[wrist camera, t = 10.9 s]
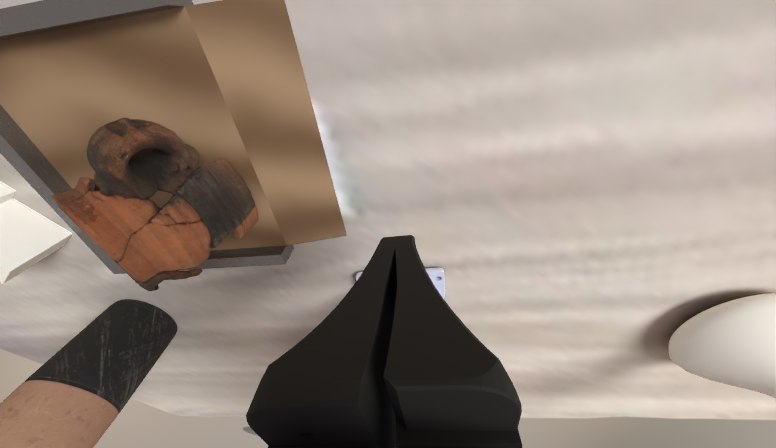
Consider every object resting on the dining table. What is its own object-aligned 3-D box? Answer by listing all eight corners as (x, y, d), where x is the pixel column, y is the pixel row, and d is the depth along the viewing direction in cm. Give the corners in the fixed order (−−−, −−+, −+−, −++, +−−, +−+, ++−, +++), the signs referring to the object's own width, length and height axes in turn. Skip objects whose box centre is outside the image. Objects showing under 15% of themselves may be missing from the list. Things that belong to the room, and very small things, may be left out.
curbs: (293, 248, 25) (285, 263, 23) (132, 258, 27) (114, 274, 25) (184, -17, 15) (156, -23, 13) (-63, 31, 17) (-114, 31, 15)
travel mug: (123, 287, 29) (-240, 617, 13) (191, 324, 32) (-31, 627, 16) (99, 315, 32) (-217, 608, 16) (163, 346, 35) (-47, 619, 19)
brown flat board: (348, 229, 24) (344, 241, 23) (143, 244, 27) (129, 255, 25) (287, -7, 15) (275, -11, 14) (-14, 47, 18) (-47, 49, 16)
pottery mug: (272, 248, 24) (177, 322, 19) (200, 192, 27) (97, 246, 21) (249, 125, 15) (57, 206, 10) (142, 55, 17) (-61, 93, 12)
